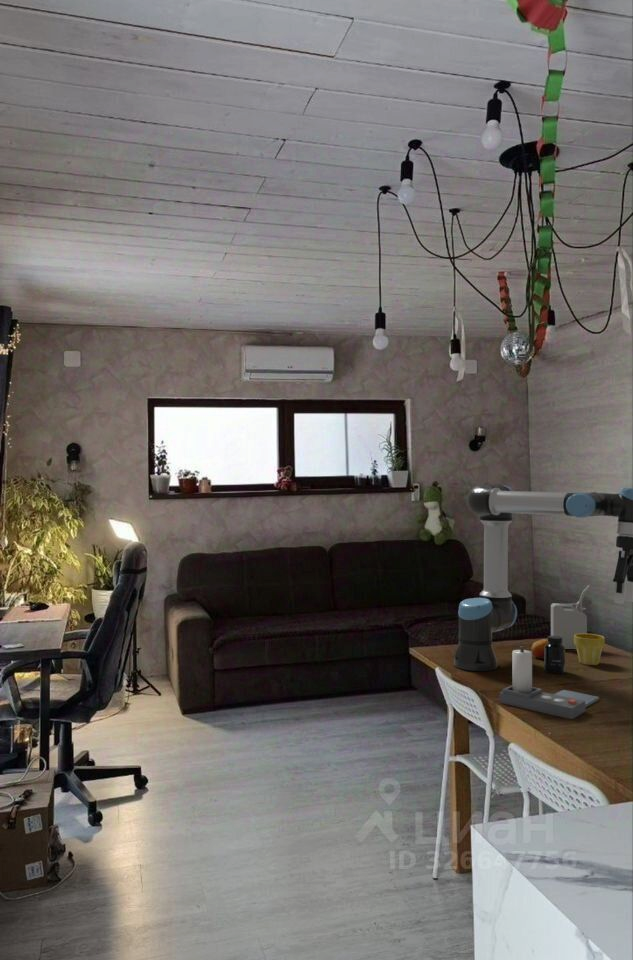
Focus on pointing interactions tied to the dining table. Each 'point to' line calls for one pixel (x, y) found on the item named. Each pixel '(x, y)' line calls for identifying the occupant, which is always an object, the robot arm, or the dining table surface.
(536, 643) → the fruit
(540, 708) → the grey control panel
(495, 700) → the dining table surface
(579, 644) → the plant pot
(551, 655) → the supplement bottle
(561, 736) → the dining table surface
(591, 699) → the mat
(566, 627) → the gas can
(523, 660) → the paper towel holder
